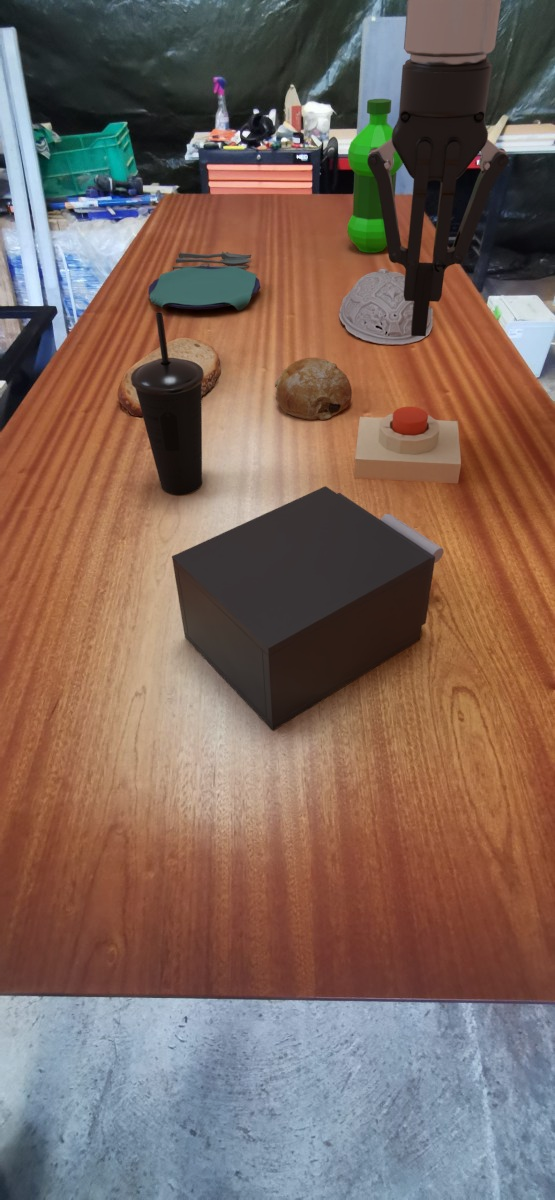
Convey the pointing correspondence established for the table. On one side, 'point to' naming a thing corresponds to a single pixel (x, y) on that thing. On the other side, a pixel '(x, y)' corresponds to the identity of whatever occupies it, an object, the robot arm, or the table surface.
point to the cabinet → (301, 601)
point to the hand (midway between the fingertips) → (418, 330)
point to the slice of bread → (176, 349)
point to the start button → (409, 421)
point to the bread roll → (313, 389)
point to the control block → (407, 452)
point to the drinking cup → (172, 417)
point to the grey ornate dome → (380, 309)
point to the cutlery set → (206, 283)
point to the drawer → (414, 539)
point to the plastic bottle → (370, 179)
